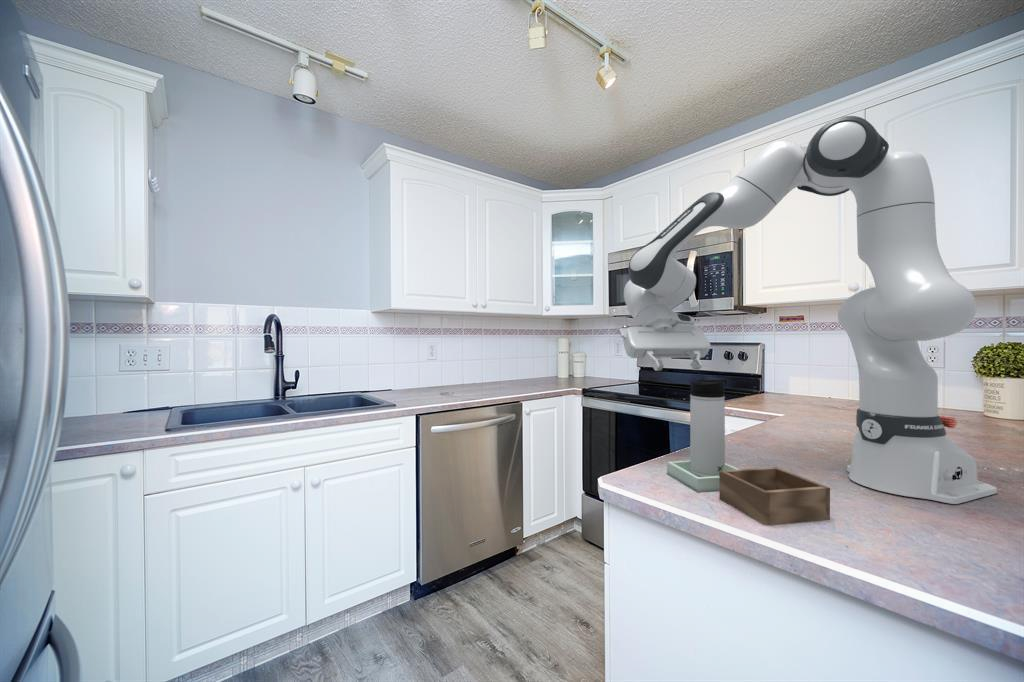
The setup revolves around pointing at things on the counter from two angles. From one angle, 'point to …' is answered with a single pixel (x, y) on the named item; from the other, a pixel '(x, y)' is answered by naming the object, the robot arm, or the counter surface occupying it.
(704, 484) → the dock
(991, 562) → the counter surface
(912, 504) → the counter surface
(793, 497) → the square wooden frame
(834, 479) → the counter surface
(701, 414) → the travel mug
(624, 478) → the counter surface
